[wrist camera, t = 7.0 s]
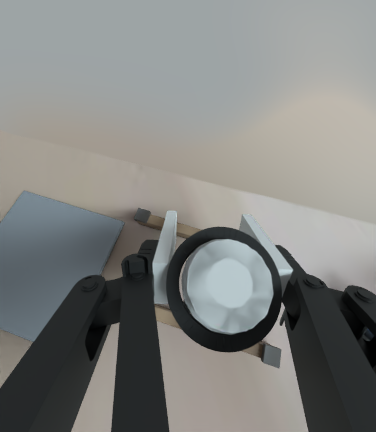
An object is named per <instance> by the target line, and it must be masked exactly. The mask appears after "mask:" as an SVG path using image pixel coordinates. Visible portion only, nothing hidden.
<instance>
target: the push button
mask: <svg viewBox="0 0 376 432" xmlns="http://www.w3.org/2000/svg"><path fill="white" fill-rule="evenodd" d="M190 255H191V256H190ZM189 256H190V257H189ZM188 257H189V258H188ZM187 258H188V260H187V261H186V259H187ZM185 261H186V264H185V267H184V271H183V274H182V291H183V297H184V301H182V298H181V295H180V291H179V277H180V272H181V269H182V266H183V264H184V262H185ZM166 294H167V299H168V304H169V307H170V310H171V312H172V315H173V317H174V318H175V320H176V322H177V323H178V325H179V326H180V328H181V329H182V330H183V331H184V332H185V333H186V334H187V335H188V336H189V337H190V338H191V339H192V340H194V341H195V342H196V343H198V344H200V345H201V346H203V347H206V348H208V349H211V350H214V351H219V352H237V351H242V350H245V349H248V348H250V347H252V346H254V345H256V344H257V343H259V342H260V341H261V340H262V339H263V338H265V337H266V335H267V334H268V333H269V332H270V331H271V329H272V328H273V326H274V324H275V322H276V320H277V318H278V315H279V312H280V308H281V303H282V285H281V279H280V275H279V272H278V269H277V267H276V265H275V263H274V261H273V259H272V257H271V256H270V254H269V253H268V251H267V250H266V249H265V248H264V247H263V246H262V245H261V244H260V243H259V242H258V241H257V240H256V239H254V238H253V237H251V236H250V235H248V234H246V233H244V232H242V231H239V230H236V229H233V228H227V227H212V228H207V229H204V230H201V231H199V232H196V233H195V234H193V235H191V236H190V237H189V238H187V239H186V240H185V241H184V242H183V243H182V244H181V245H180V246H179V247H178V249H177V250H176V252H175V253H174V255H173V257H172V259H171V261H170V264H169V267H168V271H167V277H166ZM190 313H191V314H192V315H193V316H192V315H191V314H190Z"/></svg>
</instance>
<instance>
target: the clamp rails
mask: <svg viewBox="0 0 376 432" xmlns="http://www.w3.org/2000/svg"><path fill="white" fill-rule="evenodd" d="M134 220H136V221H137V222H138V223H139V224H141V225H145V226H148V227H151V228H154V229H158V230H161V231H162V228H163V225H164V221H165V219H164V218H161V217H157V216H154V215H151V212H150V211H147V210H144V209H141V208H138V211H137V213H136V215H135V217H134ZM199 231H201V230H200V229H197V228H194V227H190V226H187V225H184V224H180V223H177V227H176V235H177V236H180V237H183V238H189V237H190V236H191V235H193V234H195V233H196V232H199ZM155 313H156V320H157V321H159V322H162V323H165V324H168V325H171V326H173V327H176V328H179V329H181V328H180V326H179V325H178V323H177V322H176V320H175V318H174V317H173V315H172V312H171V310H170V309H167V308H164V307H162V306H159V305H156V304H155ZM242 351H243V352H246V353H248V354H251V355H254V356H257V357H260V358H261V361H262V362H263V363H266V364H268V365H271V366H274V367H277V368H279V367H280V357H281V349H279V348H277V347H274V346H271V345H270V344H267V343H264V342H261V341H260V342H259V343H257V344H256V345H254V346H252V347H250V348H248V349H245V350H242Z"/></svg>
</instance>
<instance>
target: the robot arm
mask: <svg viewBox="0 0 376 432" xmlns="http://www.w3.org/2000/svg"><path fill="white" fill-rule="evenodd" d="M176 227H177V211H167V214H166V218H165V221H164V225H163V228H162V232H161V235H160V239H159V240H146V241H145V242H144V243H142V245H141V247H140V250H139V252H138V254H132V255H129V256H127V257H126V258H125V259H124V260H123V261H122V263H121V265H122V273H123V277H121V278H118V279H115V280H109V281H105V279H104V277H102V276H101V275H90V276H87V277H84V278H82V279H81V280H79V281H78V282H77V283H76V284H75V285H74V286H73V288H72V289H71V291H70V292H69V293H68V295H67V296H66V298H65V299H64V300H63V302H62V303H61V305H60V306H59V307H58V309H57V310H56V312H55V313H54V314H53V316H52V317H51V318H50V320H49V321H48V323H47V324H46V325H45V327H44V328H43V330H42V331H41V332H40V334H39V335H38V337H37V338H36V339H35V341H34V342H33V344H32V345H31V346H30V348H29V349H28V350H27V352H26V353H25V355H24V356H23V357H22V359H21V360H20V362H19V363H18V364H17V366H16V367H15V369H14V370H13V371H12V373H11V374H10V376H9V377H8V378H7V380H6V381H5V382H4V384H3V385H2V387H1V388H0V432H71V430H72V427H73V425H74V422H75V419H76V417H77V414H78V411H79V409H80V406H81V404H82V401H83V398H84V396H85V393H86V390H87V388H88V385H89V382H90V380H91V377H92V374H93V372H94V369H95V366H96V364H97V361H98V359H99V356H100V353H101V351H102V348H103V345H104V343H105V340H106V337H107V335H108V332H109V329H110V327H111V324H115V323H118V322H120V324H119V337H118V350H117V363H116V376H115V389H114V402H113V415H112V428H111V432H169V425H168V416H167V408H166V399H165V390H164V382H163V373H162V365H161V356H160V347H159V339H158V330H157V321H156V313H155V304H168V299H167V294H166V277H167V271H168V267H169V264H170V261H171V259H172V257H173V255H174V253H175V245H176ZM239 231H242V232H244V233H246V234H248V235H250V236H251V237H253V238H254V239H256V240H257V241H258V242H259V243H260V244H261V245H262V246H263V247H264V248H265V249H266V250H267V251H268V253H269V254H270V256H271V257H272V259H273V261H274V263H275V265H276V267H277V269H278V272H279V275H280V279H281V285H282V302H283V304H284V306H285V310H284V312H283V315H282V317H281V320H280V325H281V326H282V324H283V322H284V320H285V327H286V330H287V334H288V339H289V344H290V348H291V353H292V357H293V362H294V367H295V371H296V376H297V380H298V385H299V390H300V394H301V399H302V403H303V408H304V413H305V417H306V422H307V427H308V431H309V432H376V295H375V294H373V293H372V292H370V291H368V290H367V289H364V288H362V287H358V286H353V285H352V286H348V287H347V288H346V289H345V291H344V292H342V291H338V290H334V289H330V288H328V287H327V286H326V284H325V283H324V282H323V281H321V280H320V279H319V278H317V277H315V276H312V275H309V274H306V272H305V271H304V270H303V269H302V268H301V266H300V265H299V264H298V263H297V262H296V260H295V259H294V258H293V257H292V256H291V254H290V253H289V252H288V251H287V250H286V249H285V248H283V247H282V246H280V245H274V244H273V243H272V241H271V240H270V239H269V237H268V236H267V235H266V233H265V232H264V231H263V229H262V228H261V227H260V225H259V224H258V223H257V221H256V220H255V219H254V218H253V216H252V215H246V214H242V218H241V223H240V228H239ZM367 329H369V331H370V332H371V333H372V334H373V335H374V337H373V338H372V339H371V340H368V339H367V338H366V337H365V335H364V334H365V332H366V331H367Z"/></svg>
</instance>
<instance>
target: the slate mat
mask: <svg viewBox="0 0 376 432" xmlns="http://www.w3.org/2000/svg"><path fill="white" fill-rule="evenodd" d="M123 226H124V222H123V221H120V220H116V219H113V218H110V217H107V216H104V215H100V214H97V213H94V212H91V211H88V210H84V209H81V208H78V207H75V206H72V205H68V204H65V203H62V202H59V201H56V200H52V199H49V198H46V197H43V196H40V195H36V194H33V193H30V192H27V191H23V193H22V194H21V195H20V197H19V198H18V200H17V201H16V202H15V204H14V205H13V206H12V208H11V209H10V211H9V212H8V213H7V215H6V216H5V217H4V219H3V220H2V222H1V223H0V329H2V330H4V331H7V332H9V333H12V334H14V335H17V336H20V337H22V338H25V339H27V340H30V341H32V342H34V341H35V339H36V338H37V337H38V335H39V334H40V332H41V331H42V330H43V328H44V327H45V325H46V324H47V323H48V321H49V320H50V318H51V317H52V316H53V314H54V313H55V312H56V310H57V309H58V307H59V306H60V305H61V303H62V302H63V300H64V299H65V298H66V296H67V295H68V293H69V292H70V291H71V289H72V288H73V286H74V285H75V284H76V283H77V282H78V281H79V280H81V279H82V278H84V277H87V276H90V275H101V273H102V271H103V269H104V266H105V264H106V262H107V260H108V258H109V256H110V253H111V251H112V249H113V247H114V245H115V243H116V241H117V238H118V236H119V234H120V232H121V230H122V228H123Z"/></svg>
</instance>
